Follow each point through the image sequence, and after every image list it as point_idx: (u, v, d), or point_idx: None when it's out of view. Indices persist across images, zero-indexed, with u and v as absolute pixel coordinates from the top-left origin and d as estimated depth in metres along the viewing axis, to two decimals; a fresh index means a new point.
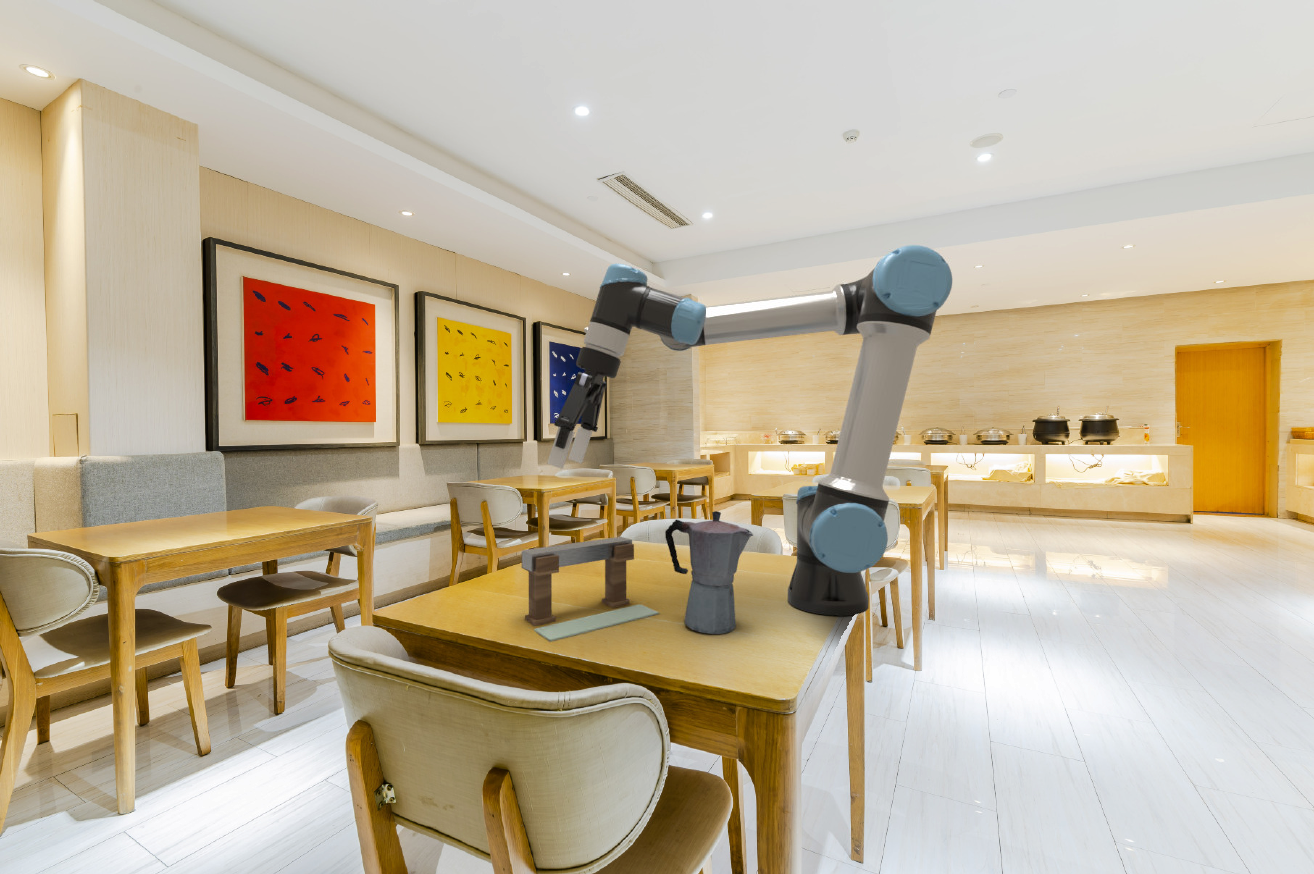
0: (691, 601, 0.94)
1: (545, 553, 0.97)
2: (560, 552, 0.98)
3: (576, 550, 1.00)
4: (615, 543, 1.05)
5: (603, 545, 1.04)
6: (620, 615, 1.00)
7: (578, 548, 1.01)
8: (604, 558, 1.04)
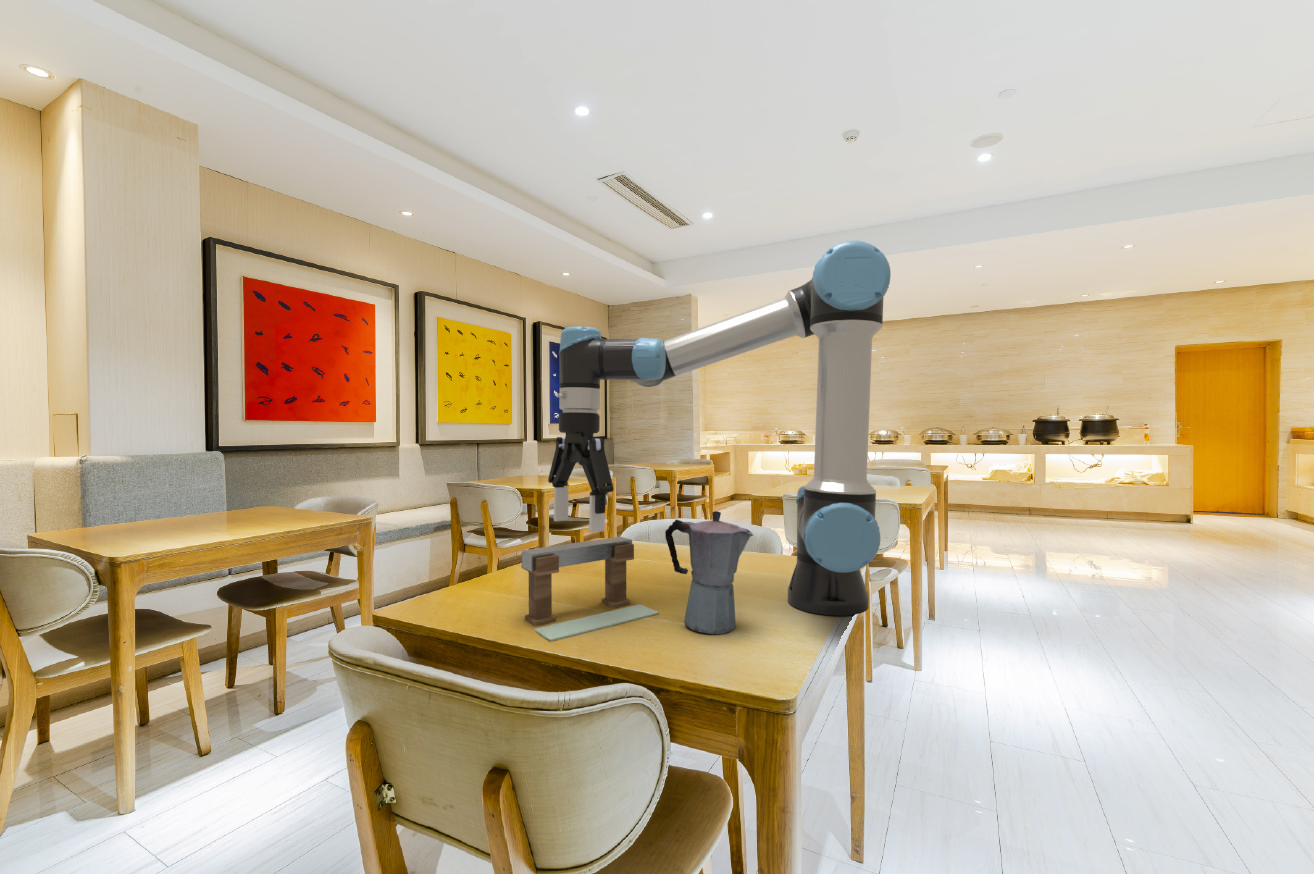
0: (691, 601, 0.94)
1: (545, 553, 0.97)
2: (560, 552, 0.98)
3: (576, 550, 1.00)
4: (615, 543, 1.05)
5: (603, 545, 1.04)
6: (620, 615, 1.00)
7: (578, 548, 1.01)
8: (604, 558, 1.04)
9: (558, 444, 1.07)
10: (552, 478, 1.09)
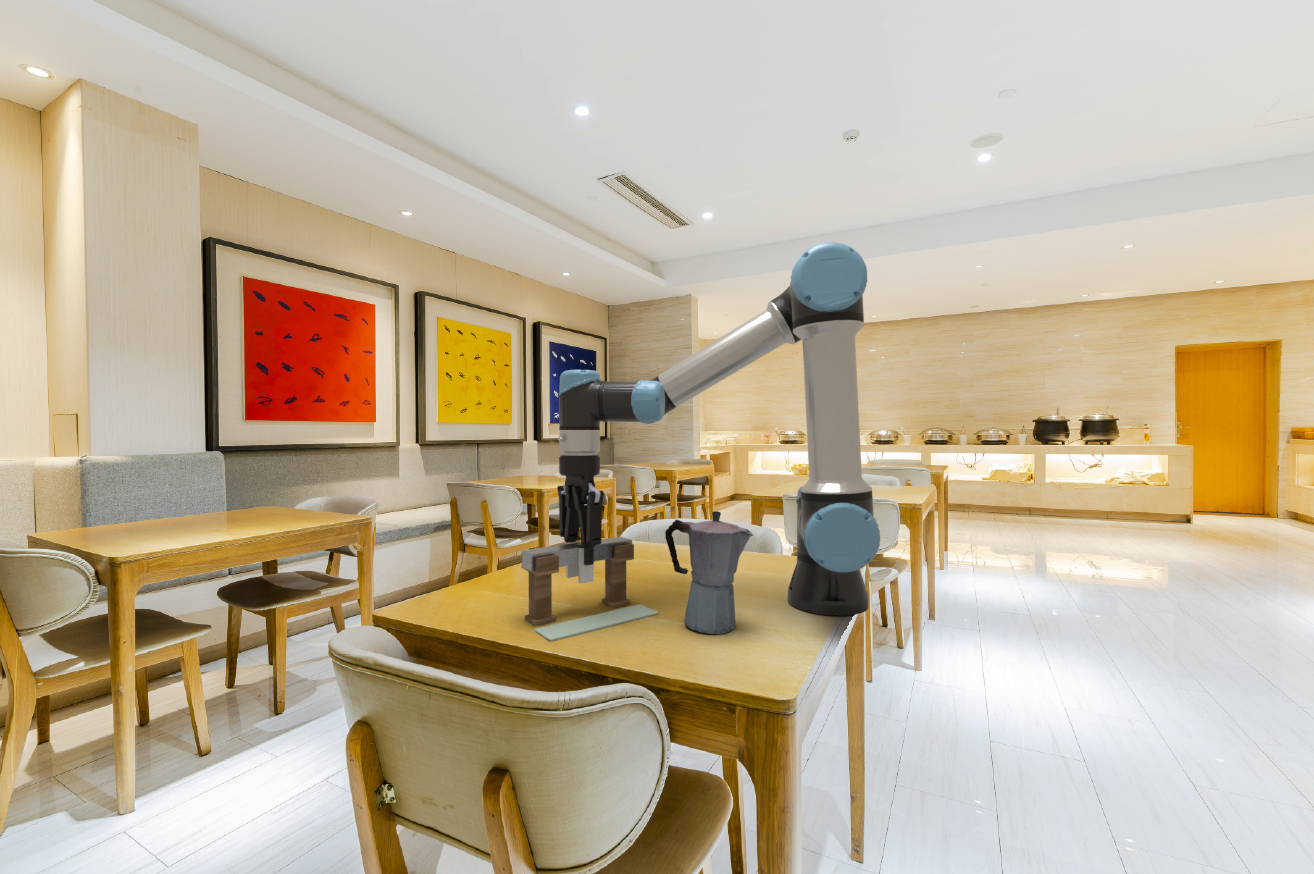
0: (691, 601, 0.94)
1: (545, 553, 0.97)
2: (560, 552, 0.98)
3: (576, 550, 1.00)
4: (615, 543, 1.05)
5: (603, 545, 1.04)
6: (620, 615, 1.00)
7: (578, 548, 1.01)
8: (604, 558, 1.04)
9: (560, 492, 1.06)
10: (563, 530, 1.06)
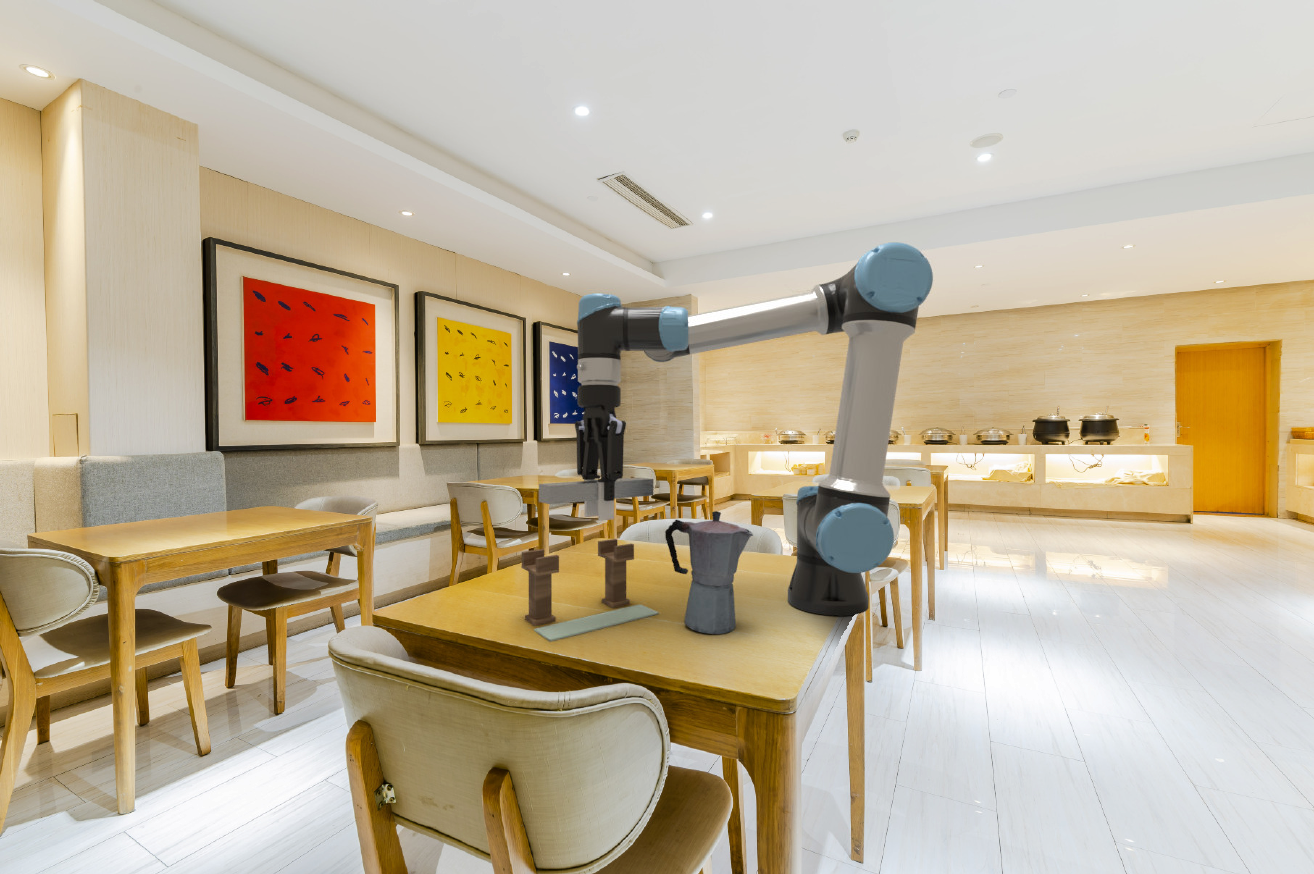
0: (691, 601, 0.94)
1: (563, 486, 0.91)
2: (579, 486, 0.93)
3: (596, 485, 0.94)
4: (636, 481, 1.00)
5: (624, 482, 0.98)
6: (620, 615, 1.00)
7: None
8: (625, 496, 0.98)
9: (578, 427, 1.01)
10: (581, 468, 1.00)
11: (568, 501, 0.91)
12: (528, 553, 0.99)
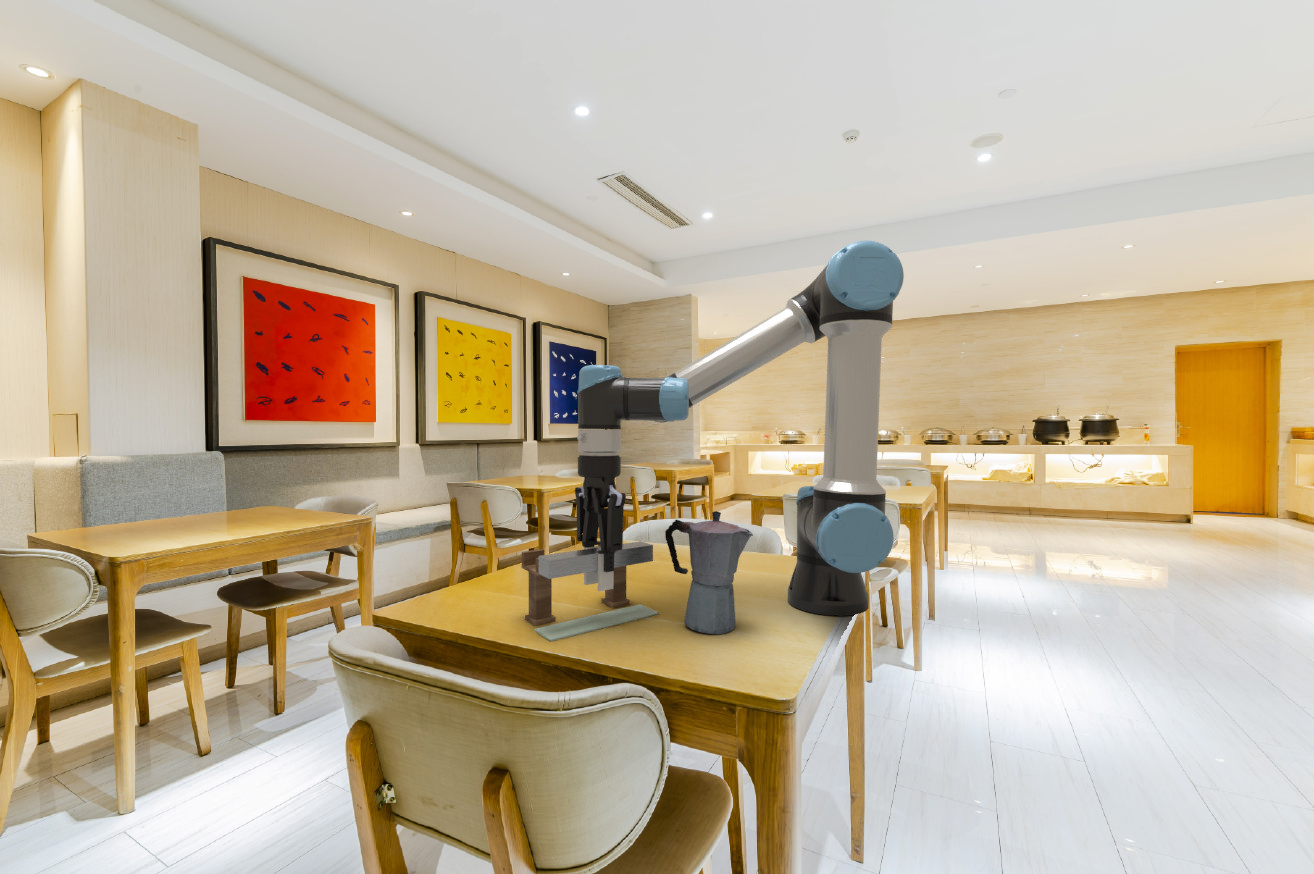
0: (691, 601, 0.94)
1: (563, 559, 0.91)
2: (579, 558, 0.93)
3: (595, 556, 0.95)
4: (635, 548, 1.00)
5: (623, 550, 0.98)
6: (620, 615, 1.00)
7: (597, 554, 0.95)
8: (624, 564, 0.98)
9: (578, 494, 1.01)
10: (581, 534, 1.00)
11: (568, 574, 0.92)
12: (528, 553, 0.99)
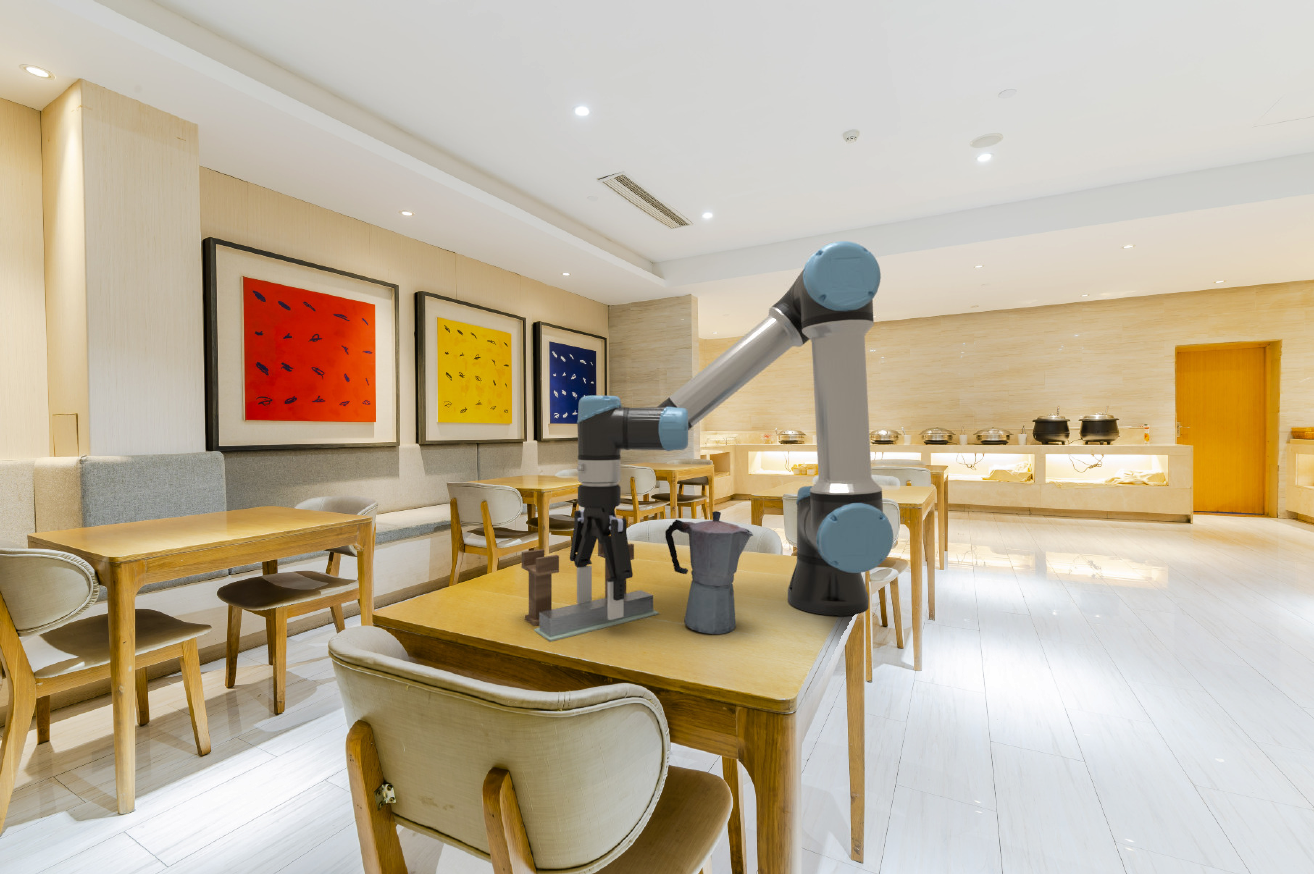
0: (691, 601, 0.94)
1: (564, 616, 0.91)
2: (580, 614, 0.93)
3: (596, 611, 0.95)
4: (636, 600, 1.00)
5: (624, 603, 0.98)
6: None
7: (598, 608, 0.95)
8: (625, 617, 0.99)
9: (577, 518, 1.01)
10: (574, 556, 1.03)
11: (569, 631, 0.92)
12: (528, 553, 0.99)
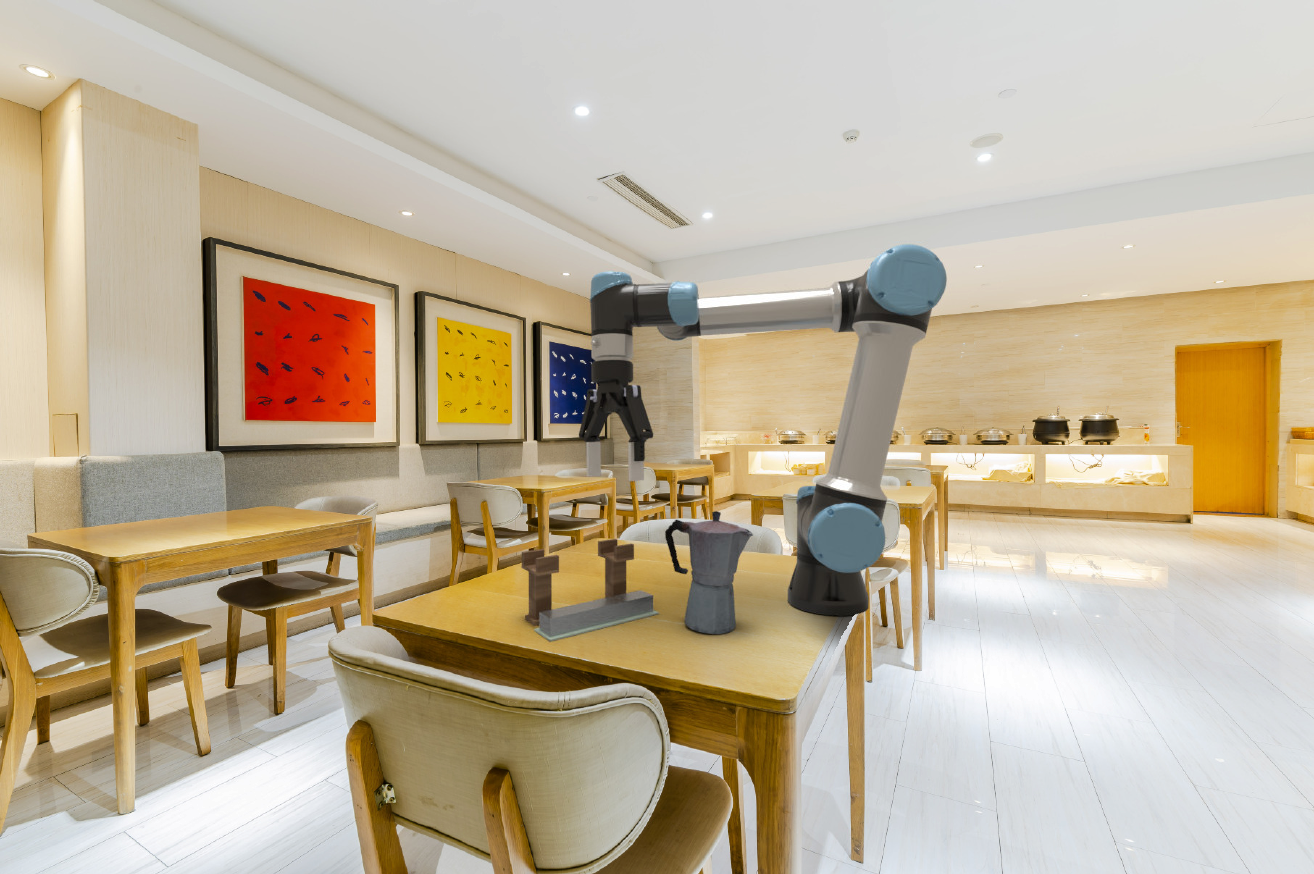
0: (691, 601, 0.94)
1: (564, 616, 0.91)
2: (580, 614, 0.93)
3: (596, 611, 0.95)
4: (636, 600, 1.00)
5: (624, 603, 0.98)
6: None
7: (598, 608, 0.95)
8: (625, 617, 0.99)
9: (589, 397, 1.04)
10: (583, 433, 1.06)
11: (569, 631, 0.92)
12: (528, 553, 0.99)
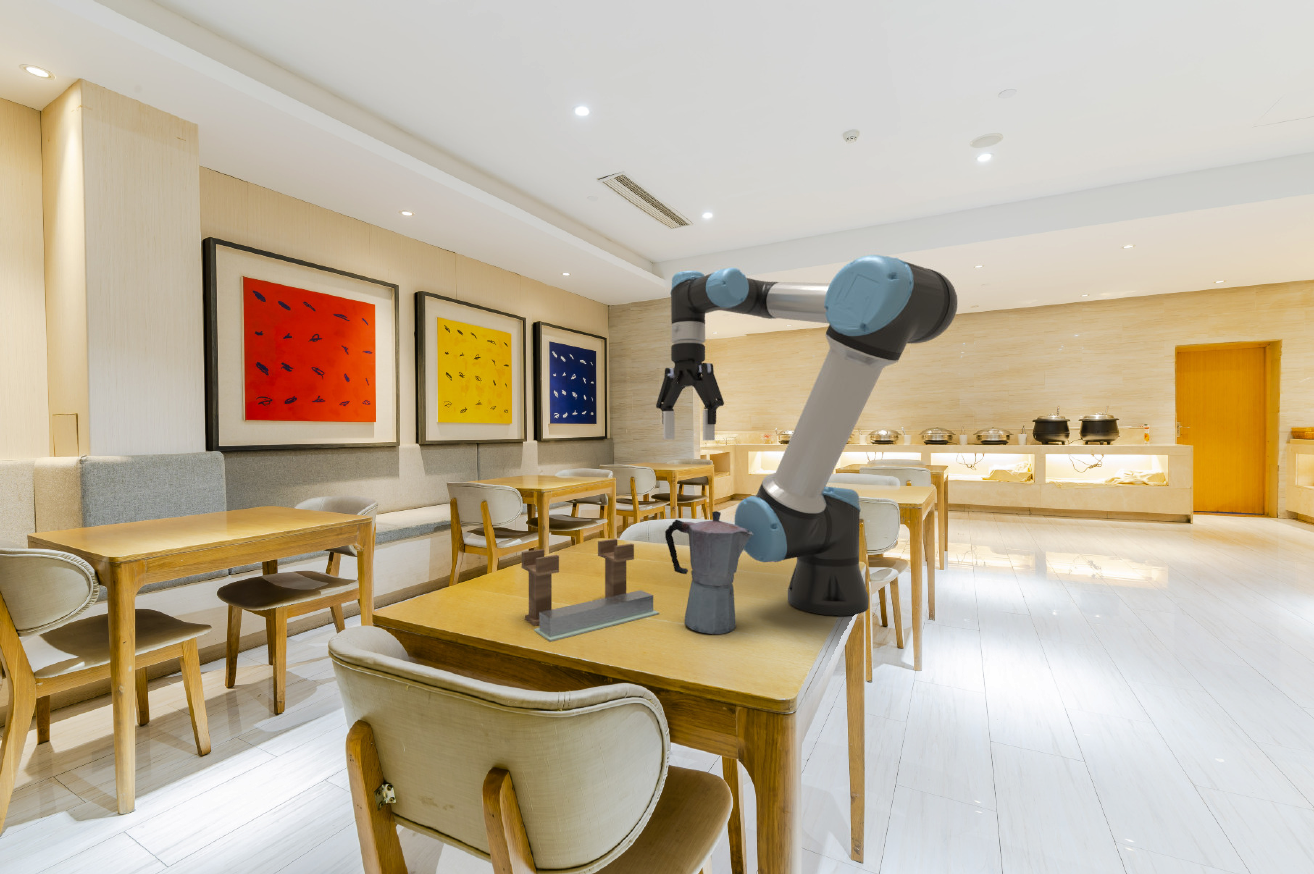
0: (691, 601, 0.94)
1: (564, 616, 0.91)
2: (580, 614, 0.93)
3: (596, 611, 0.95)
4: (636, 600, 1.00)
5: (624, 603, 0.98)
6: None
7: (598, 608, 0.95)
8: (625, 617, 0.99)
9: (667, 374, 1.26)
10: (660, 404, 1.29)
11: (569, 631, 0.92)
12: (528, 553, 0.99)
